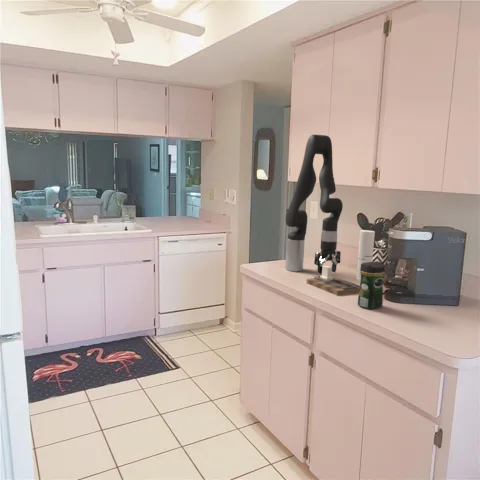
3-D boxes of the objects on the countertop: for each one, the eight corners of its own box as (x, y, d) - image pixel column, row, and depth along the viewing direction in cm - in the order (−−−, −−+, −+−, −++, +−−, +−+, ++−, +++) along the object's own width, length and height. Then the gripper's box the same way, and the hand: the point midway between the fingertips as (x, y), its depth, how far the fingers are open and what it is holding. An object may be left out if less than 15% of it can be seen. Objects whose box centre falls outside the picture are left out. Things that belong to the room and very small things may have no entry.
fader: (319, 278, 199) (320, 266, 198) (326, 277, 201) (326, 265, 200) (326, 281, 195) (327, 268, 194) (332, 280, 197) (333, 267, 196)
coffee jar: (370, 302, 172) (374, 259, 169) (385, 307, 165) (389, 263, 162) (353, 304, 168) (357, 260, 165) (368, 310, 161) (372, 265, 158)
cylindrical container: (371, 281, 206) (375, 232, 202) (356, 280, 208) (360, 231, 204) (369, 277, 213) (374, 230, 209) (355, 276, 215) (359, 229, 211)
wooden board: (306, 283, 199) (306, 277, 199) (331, 279, 207) (332, 274, 206) (337, 295, 180) (337, 289, 180) (363, 291, 188) (364, 285, 187)
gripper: (335, 237, 202) (332, 269, 204) (312, 239, 195) (310, 272, 198) (345, 240, 195) (343, 273, 198) (322, 241, 188) (320, 275, 191)
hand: (326, 272), depth 198 cm, fingers open, 8 cm apart
